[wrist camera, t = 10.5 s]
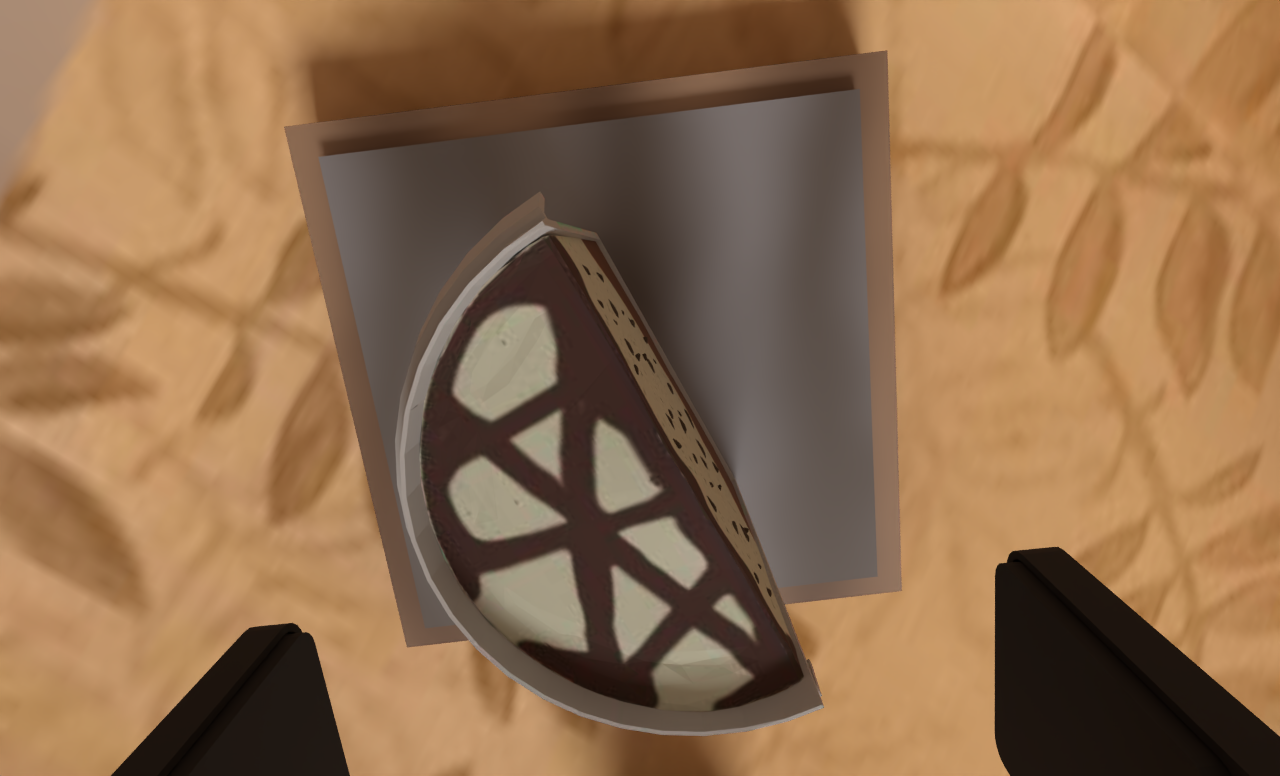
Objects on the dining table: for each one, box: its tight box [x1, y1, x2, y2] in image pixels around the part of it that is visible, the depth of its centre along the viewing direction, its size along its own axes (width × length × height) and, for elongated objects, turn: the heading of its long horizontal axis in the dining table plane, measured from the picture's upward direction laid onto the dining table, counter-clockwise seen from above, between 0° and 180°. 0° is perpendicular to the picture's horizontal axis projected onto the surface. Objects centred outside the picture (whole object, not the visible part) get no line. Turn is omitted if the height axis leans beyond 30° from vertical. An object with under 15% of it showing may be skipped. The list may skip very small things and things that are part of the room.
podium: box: [284, 51, 902, 647], centre depth 25 cm, size 18×18×3 cm
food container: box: [395, 192, 824, 736], centre depth 19 cm, size 12×6×10 cm, turn 29°
